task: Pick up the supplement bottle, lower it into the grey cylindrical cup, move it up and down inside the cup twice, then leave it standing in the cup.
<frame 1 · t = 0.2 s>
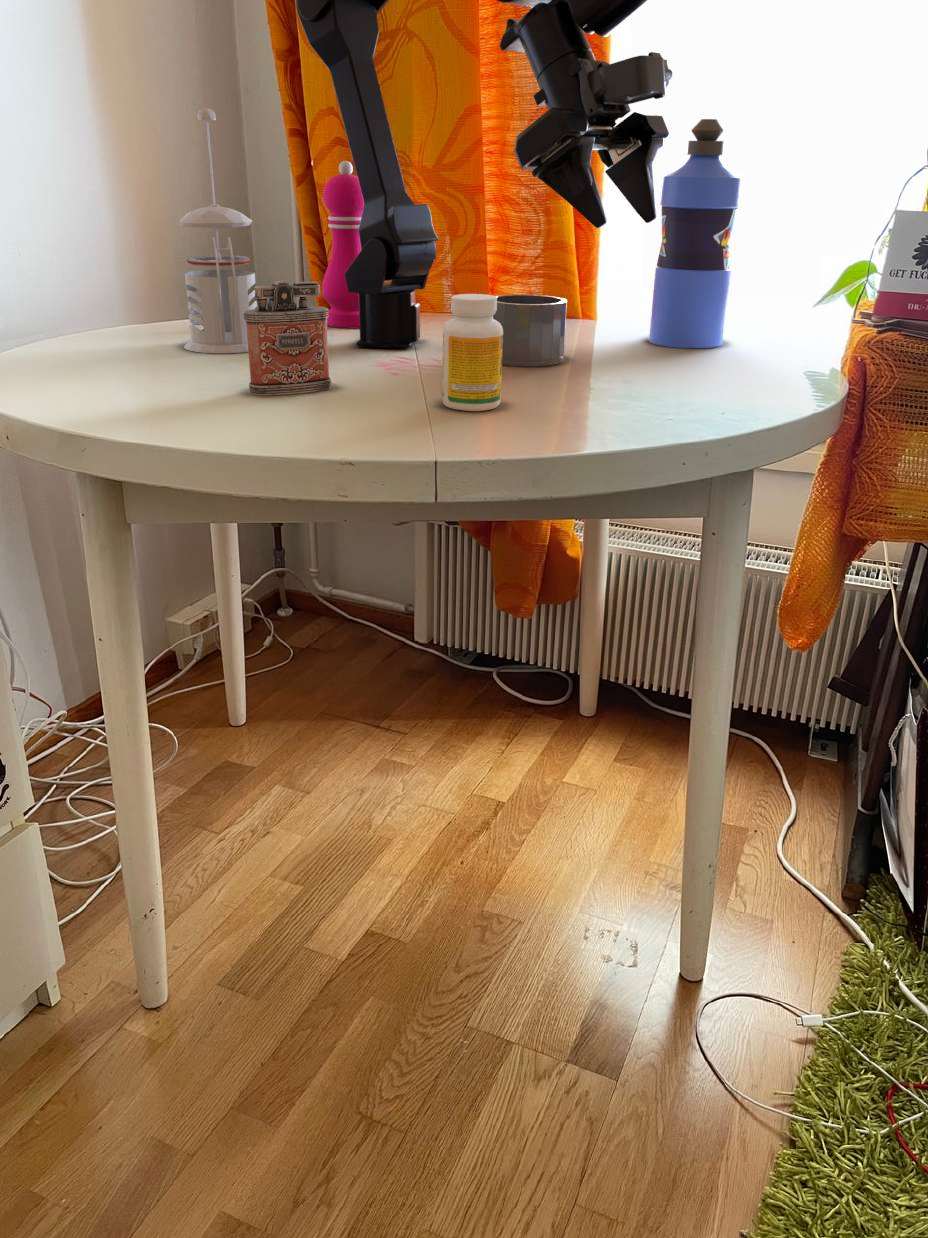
hand: (627, 222, 95), 15 cm above the table, tool tilted 30°, fingers open, 9 cm apart
french press: (227, 348, 116), on the table
grey cylindrical cup: (524, 359, 112), on the table
pepper mill: (350, 326, 133), on the table
lighter: (291, 391, 96), on the table
water bottle: (685, 343, 124), on the table
supplement bottle: (471, 407, 91), on the table
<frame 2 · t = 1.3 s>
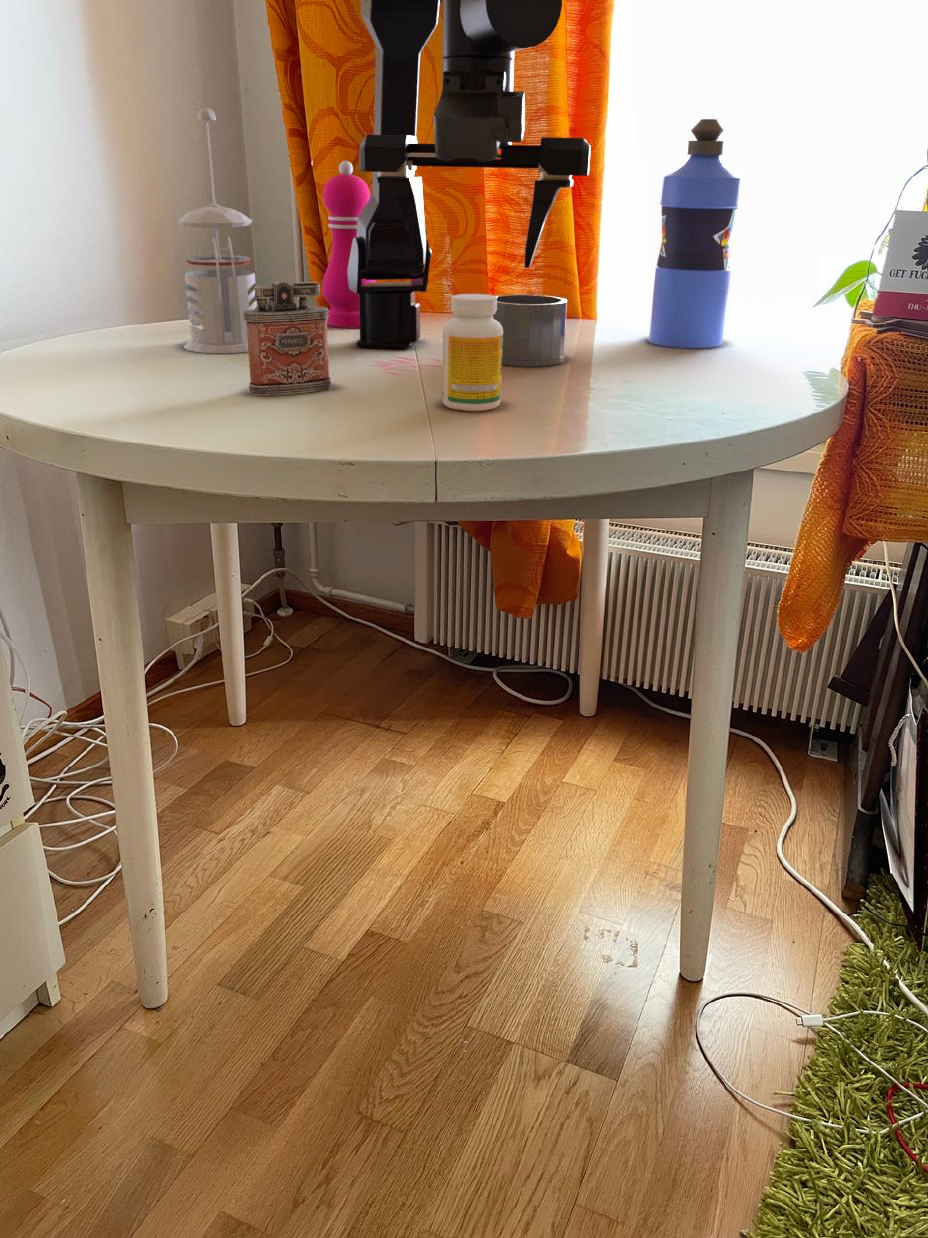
hand: (474, 265, 86), 12 cm above the table, tool pointing down, fingers open, 9 cm apart
nothing on the table moved.
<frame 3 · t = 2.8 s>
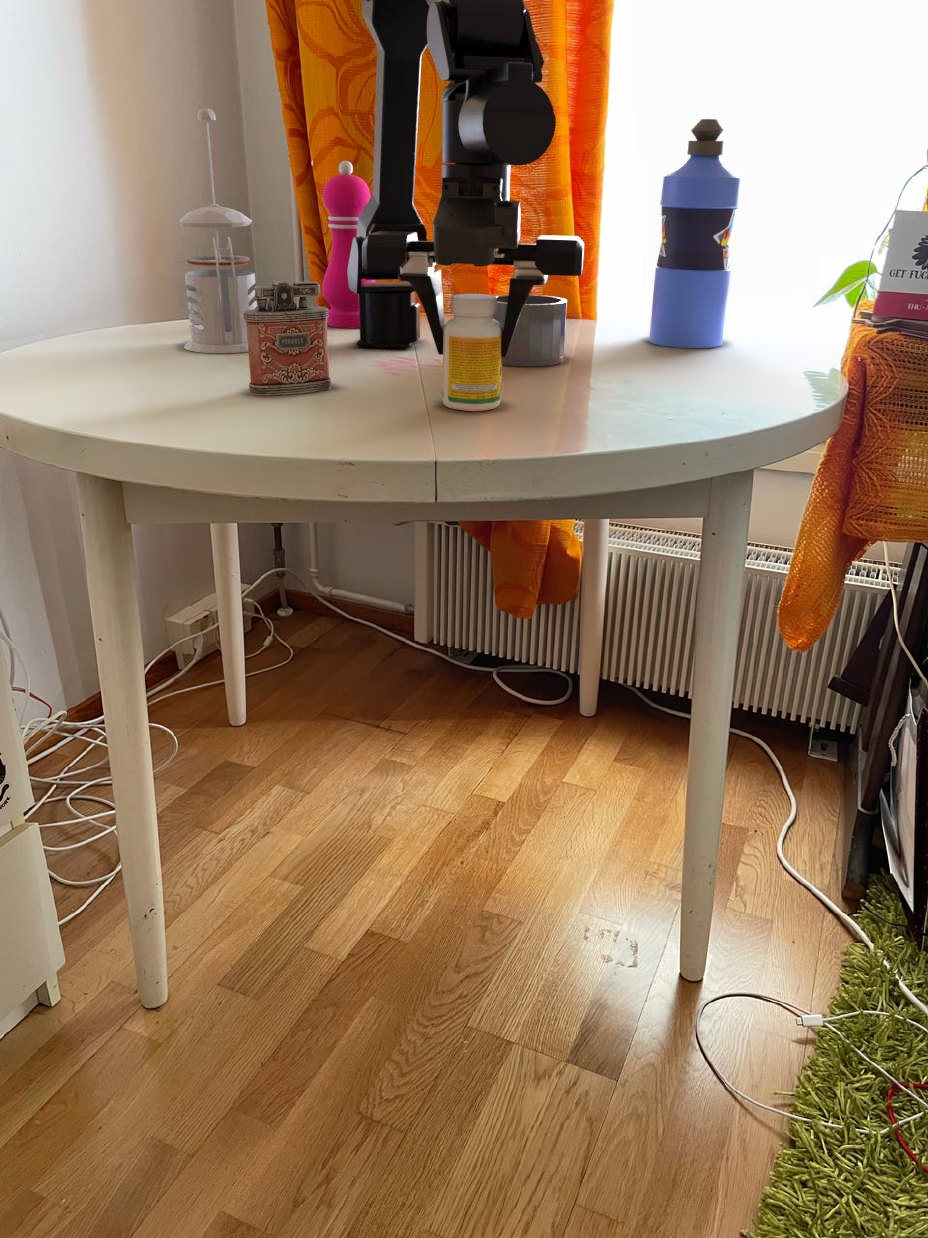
hand: (472, 355, 89), 5 cm above the table, tool pointing down, fingers closed on supplement bottle, 5 cm apart
supplement bottle: (471, 407, 91), on the table, touching gripper
everything else where it was.
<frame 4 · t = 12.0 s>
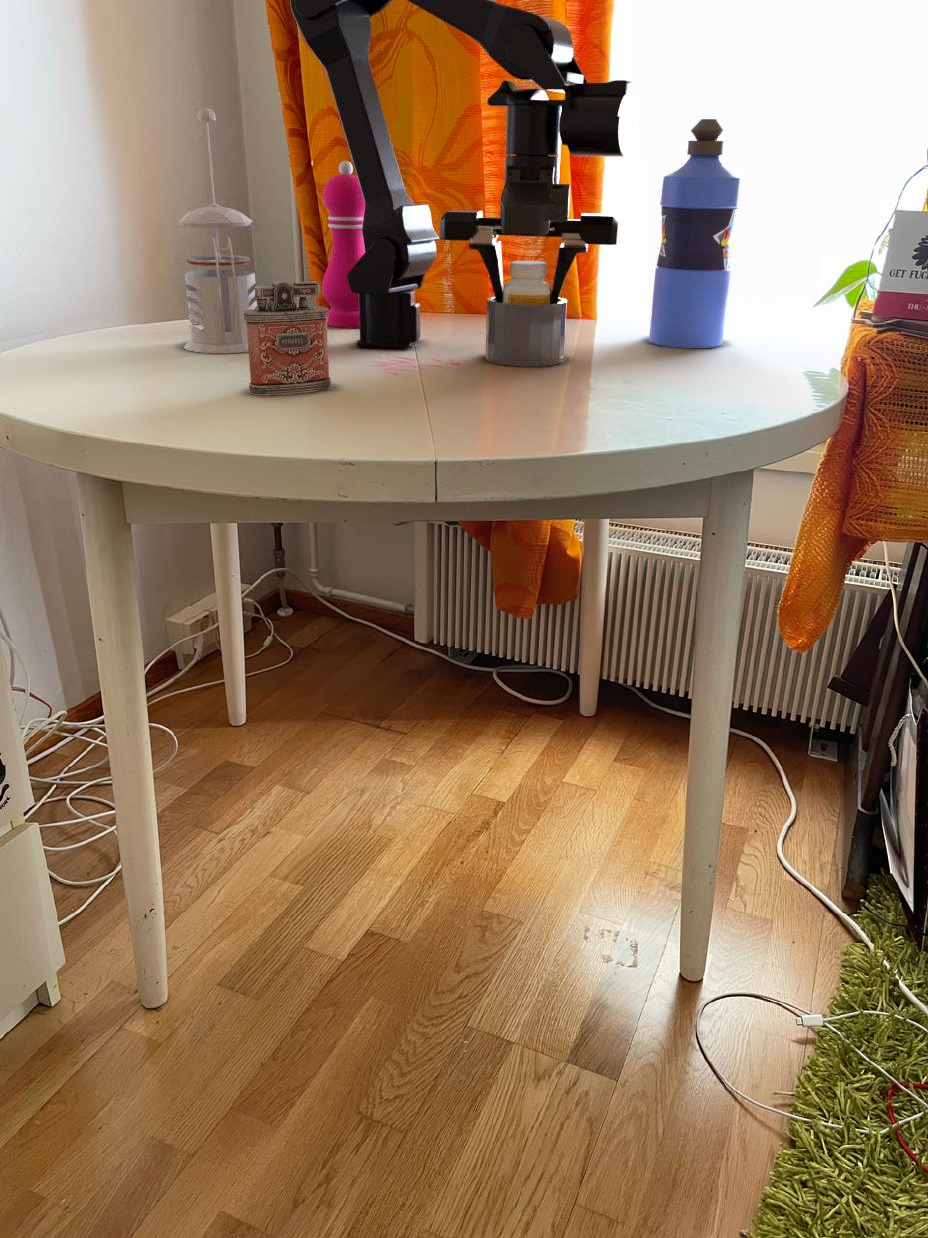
hand: (526, 310, 110), 5 cm above the table, tool pointing down, fingers closed on supplement bottle, 5 cm apart
supplement bottle: (524, 353, 112), point 1 cm above the table, touching gripper
everything else where it was.
when the fingers open (6 cm above the table, at t = 18.4 s): supplement bottle drops 1 cm, resting on grey cylindrical cup.
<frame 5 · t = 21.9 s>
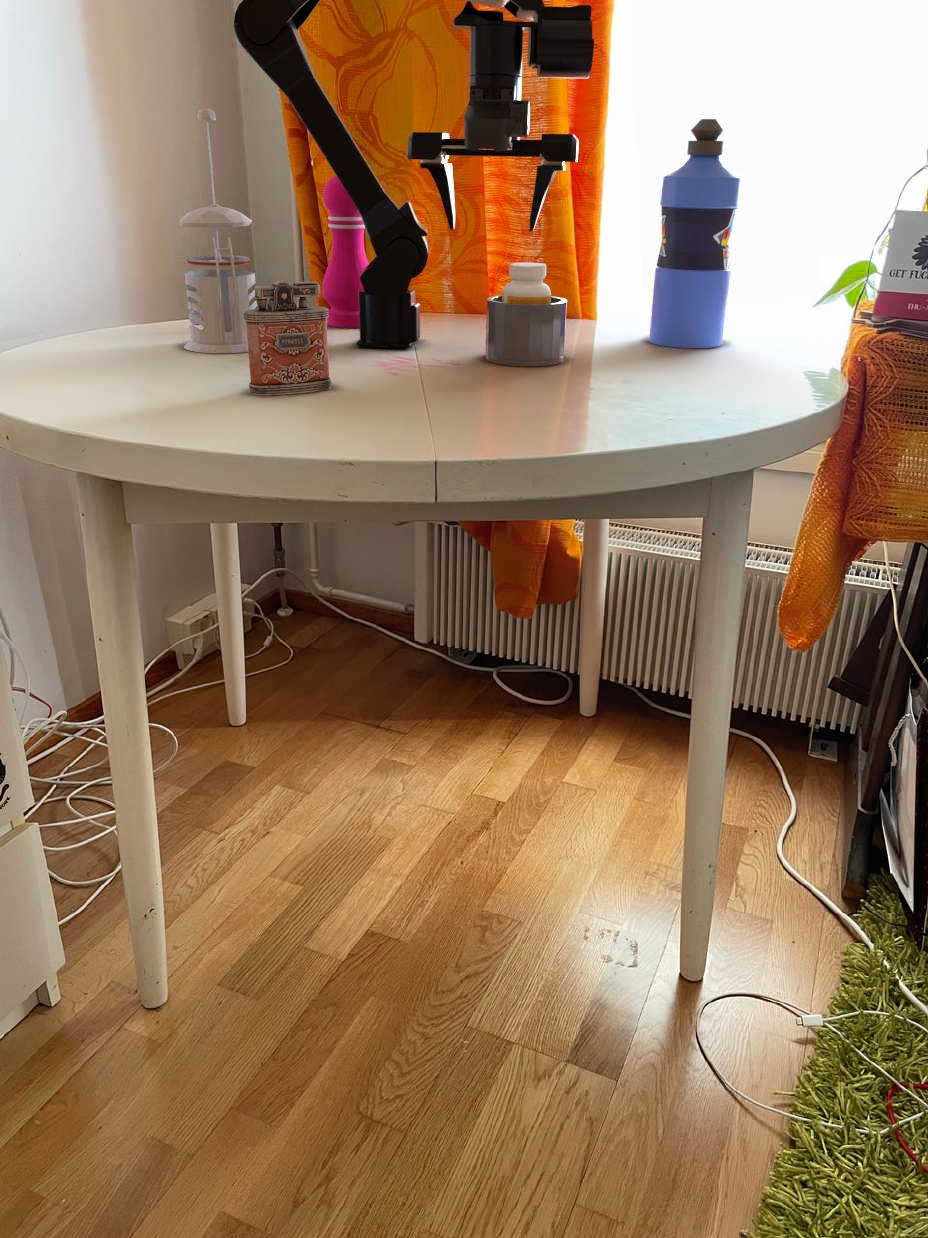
hand: (491, 230, 114), 13 cm above the table, tool pointing down, fingers open, 9 cm apart
supplement bottle: (524, 355, 112), resting on grey cylindrical cup
everything else where it was.
at the end: supplement bottle 0.1 cm off-centre in the grey cylindrical cup, point 0.4 cm above the grey cylindrical cup's base; supplement bottle tilted 0° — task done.
